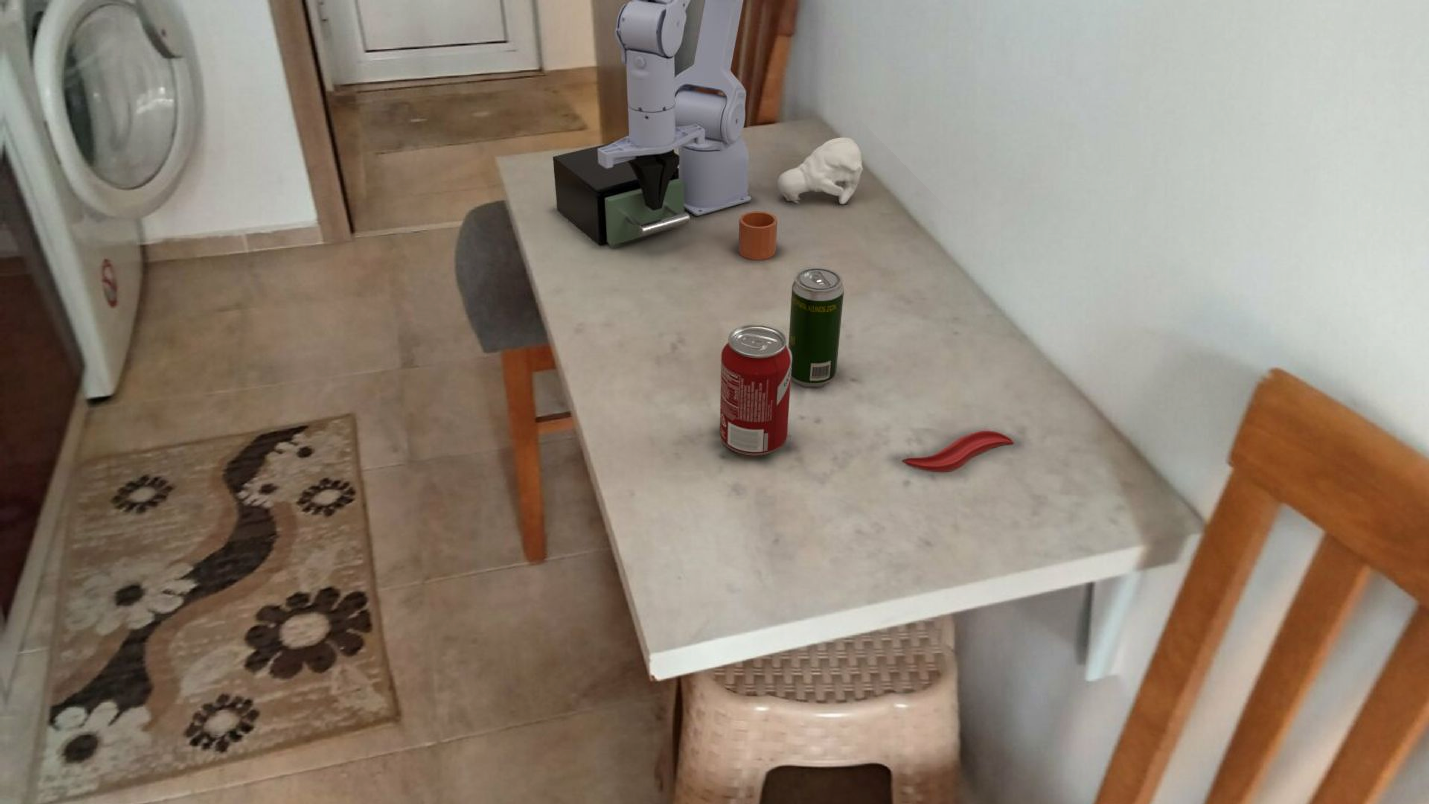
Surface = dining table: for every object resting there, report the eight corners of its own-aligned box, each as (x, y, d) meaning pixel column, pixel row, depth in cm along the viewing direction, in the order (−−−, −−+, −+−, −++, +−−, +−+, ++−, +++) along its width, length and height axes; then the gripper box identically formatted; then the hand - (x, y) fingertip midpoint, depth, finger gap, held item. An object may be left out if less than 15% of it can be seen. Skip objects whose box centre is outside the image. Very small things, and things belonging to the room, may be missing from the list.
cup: (761, 239, 143) (762, 207, 141) (782, 254, 140) (784, 222, 137) (731, 248, 141) (732, 216, 139) (752, 263, 138) (754, 231, 135)
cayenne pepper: (909, 475, 104) (912, 459, 103) (895, 445, 108) (897, 430, 107) (1026, 462, 106) (1029, 447, 105) (1007, 434, 109) (1011, 419, 108)
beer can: (845, 381, 117) (854, 285, 110) (802, 393, 115) (809, 296, 108) (819, 356, 121) (827, 262, 114) (777, 368, 119) (783, 272, 112)
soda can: (765, 469, 104) (770, 367, 97) (707, 445, 107) (707, 345, 100) (798, 433, 109) (805, 333, 102) (741, 412, 112) (744, 313, 105)
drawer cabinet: (679, 223, 147) (679, 168, 142) (599, 245, 141) (596, 189, 137) (634, 190, 155) (632, 137, 151) (556, 210, 150) (552, 156, 145)
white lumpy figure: (867, 145, 147) (782, 160, 146) (866, 201, 152) (785, 216, 151) (852, 128, 152) (770, 142, 151) (852, 183, 157) (773, 197, 156)
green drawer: (703, 238, 142) (703, 194, 138) (629, 260, 136) (627, 215, 133) (641, 193, 152) (640, 151, 149) (571, 212, 147) (567, 169, 144)
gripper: (682, 83, 136) (683, 182, 144) (582, 105, 130) (589, 208, 138) (714, 99, 132) (713, 201, 140) (612, 124, 125) (617, 229, 133)
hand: (653, 206), depth 138 cm, fingers closed
